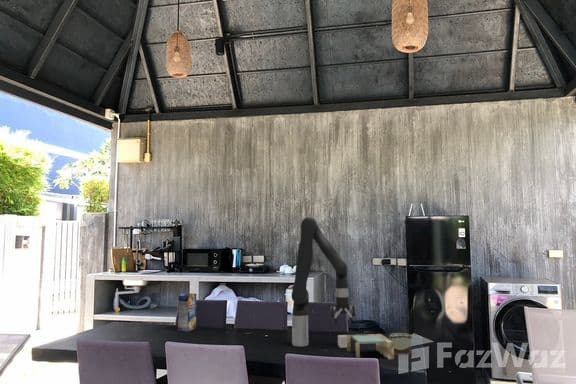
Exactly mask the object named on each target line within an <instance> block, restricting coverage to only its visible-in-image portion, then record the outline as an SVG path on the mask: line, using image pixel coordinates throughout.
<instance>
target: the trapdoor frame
mask: <svg viewBox="0 0 576 384" xmlns="http://www.w3.org/2000/svg"><path fill="white" fill-rule="evenodd" d="M346 335H347V348H346V352H351V350H352V349H351V348H352V346H351V345H352V343H351V339H353V338H352V336H370V335H377V336H379V337H380V338H382V339H383V340H385V343H375V350H376V351H377V352H378V351H379V354H381V355H382V354H383V355H382V356H383V357H384V358H386V357H387V358H388V359H387V358H386V359H387V360H395V354H394V342H393V341H391V339H389V337H387V336H385V335H383V334H381V333H375V334H373V333H372V334H370V333H369V334H346ZM360 348H361V347H360V344H359V342H357V341H355V359H356V358H360V359H361V354H360V353H361V351H360Z"/></svg>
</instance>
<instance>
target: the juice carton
mask: <svg viewBox="0 0 576 384" xmlns="http://www.w3.org/2000/svg"><path fill="white" fill-rule="evenodd" d="M177 307H178V308H177V309H178V310H177V312H178V314H177V315H178V316H177V317H178V318H177V332H187V333H188V332H190V331H193V330H195V329H196V327H197V293H188V292H187V293H183V294H179V295H178V306H177Z"/></svg>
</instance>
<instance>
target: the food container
mask: <svg viewBox="0 0 576 384" xmlns="http://www.w3.org/2000/svg"><path fill="white" fill-rule="evenodd" d="M388 339H390V340H391V341H393V342H394V355H410V354H411V343H412V339H413V337H412V335H411V334H410V333H404V332H393V333H390V334H389V336H388Z"/></svg>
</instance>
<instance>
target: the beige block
mask: <svg viewBox="0 0 576 384" xmlns="http://www.w3.org/2000/svg"><path fill="white" fill-rule="evenodd" d="M347 335H348V334H338V335H337V346H338V347H339V348H340V349H342V348H346V349H347Z"/></svg>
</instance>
